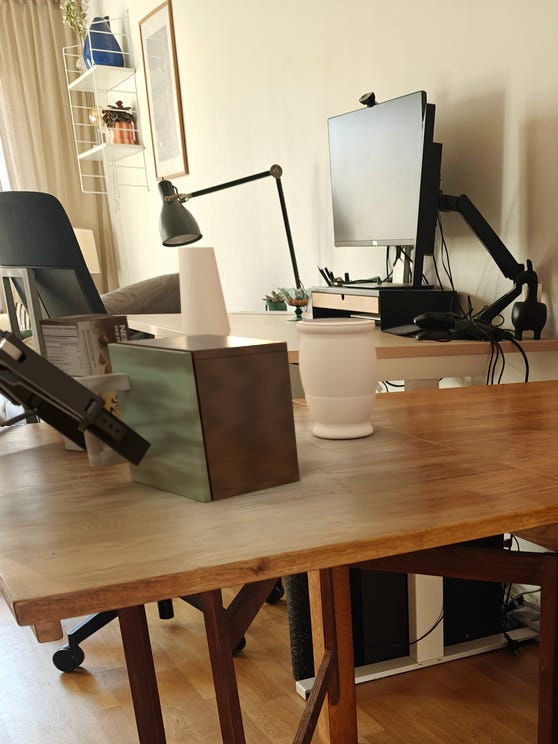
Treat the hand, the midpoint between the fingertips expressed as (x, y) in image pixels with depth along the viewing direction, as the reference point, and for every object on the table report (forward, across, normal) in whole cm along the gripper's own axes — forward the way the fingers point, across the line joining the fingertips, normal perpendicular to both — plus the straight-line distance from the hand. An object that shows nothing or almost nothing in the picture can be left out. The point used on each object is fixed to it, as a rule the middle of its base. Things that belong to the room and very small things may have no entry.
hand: (117, 447), depth 92 cm
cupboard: (+9, +5, +3) cm, 11 cm away
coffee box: (+11, -24, +4) cm, 27 cm away
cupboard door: (+3, +5, -3) cm, 7 cm away
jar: (+28, -5, +22) cm, 36 cm away
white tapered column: (+24, -27, +18) cm, 40 cm away
